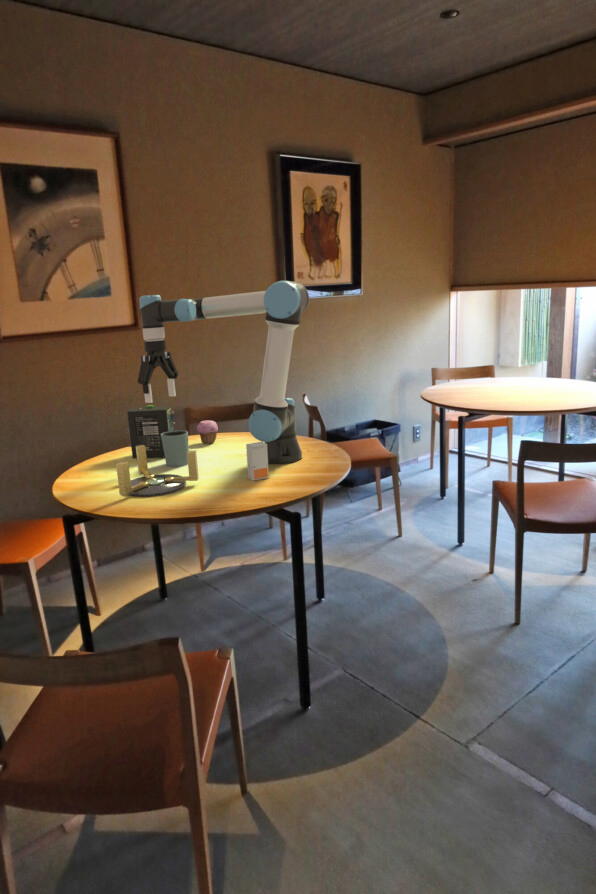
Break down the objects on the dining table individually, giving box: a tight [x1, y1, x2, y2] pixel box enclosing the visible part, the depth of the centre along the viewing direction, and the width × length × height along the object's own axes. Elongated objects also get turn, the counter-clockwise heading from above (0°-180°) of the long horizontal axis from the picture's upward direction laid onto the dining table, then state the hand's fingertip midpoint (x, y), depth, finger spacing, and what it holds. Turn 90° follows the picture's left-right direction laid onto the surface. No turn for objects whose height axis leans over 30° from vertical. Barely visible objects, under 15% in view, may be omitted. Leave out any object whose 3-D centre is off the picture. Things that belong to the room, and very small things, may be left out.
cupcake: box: [196, 419, 219, 445], centre depth 260 cm, size 9×9×10 cm
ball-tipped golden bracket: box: [115, 461, 148, 496], centre depth 192 cm, size 11×3×10 cm, turn 150°
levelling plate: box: [127, 473, 187, 498], centre depth 200 cm, size 20×20×2 cm
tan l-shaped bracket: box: [165, 450, 200, 482], centre depth 199 cm, size 11×3×10 cm, turn 90°
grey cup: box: [161, 429, 190, 468], centre depth 228 cm, size 10×10×12 cm
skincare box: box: [245, 441, 270, 481], centre depth 204 cm, size 6×4×12 cm
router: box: [126, 404, 176, 460], centre depth 241 cm, size 8×18×20 cm, turn 89°
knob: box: [136, 445, 155, 480], centre depth 207 cm, size 11×3×10 cm, turn 30°
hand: (161, 399), depth 221 cm, fingers open, 13 cm apart
